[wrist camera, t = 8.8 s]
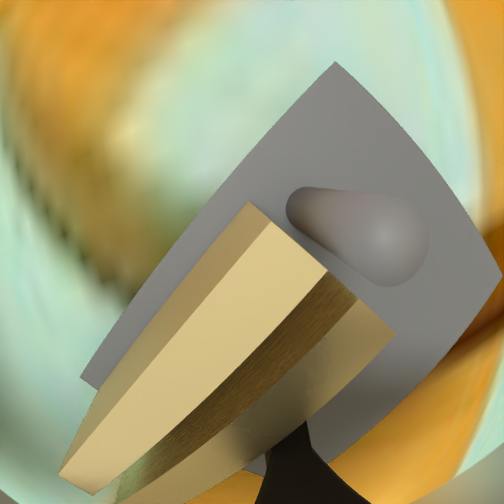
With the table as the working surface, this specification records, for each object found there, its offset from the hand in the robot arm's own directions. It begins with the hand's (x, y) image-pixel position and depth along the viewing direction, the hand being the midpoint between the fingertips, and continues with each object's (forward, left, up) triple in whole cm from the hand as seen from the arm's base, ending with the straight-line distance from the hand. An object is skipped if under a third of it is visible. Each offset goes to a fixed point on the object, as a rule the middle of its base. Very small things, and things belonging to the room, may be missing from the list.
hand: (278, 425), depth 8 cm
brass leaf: (0, +2, -2) cm, 3 cm away
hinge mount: (+2, 0, -4) cm, 4 cm away
